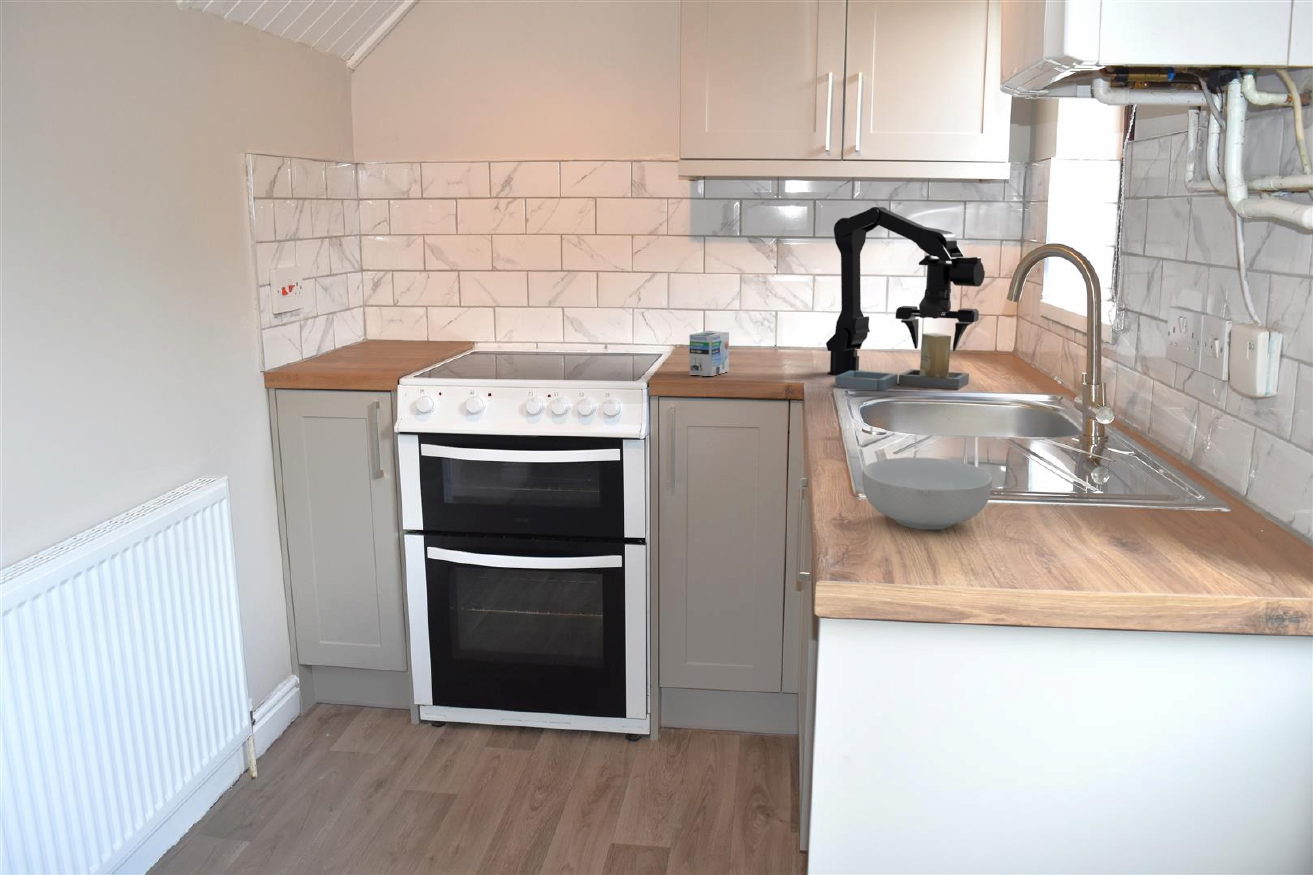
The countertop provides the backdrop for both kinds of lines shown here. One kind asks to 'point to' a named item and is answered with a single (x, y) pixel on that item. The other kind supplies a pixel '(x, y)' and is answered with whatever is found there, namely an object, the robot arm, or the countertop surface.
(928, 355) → the skincare box
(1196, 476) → the countertop surface
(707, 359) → the light bulb box
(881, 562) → the countertop surface
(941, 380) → the metal collar
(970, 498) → the cereal bowl
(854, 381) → the slate tray
